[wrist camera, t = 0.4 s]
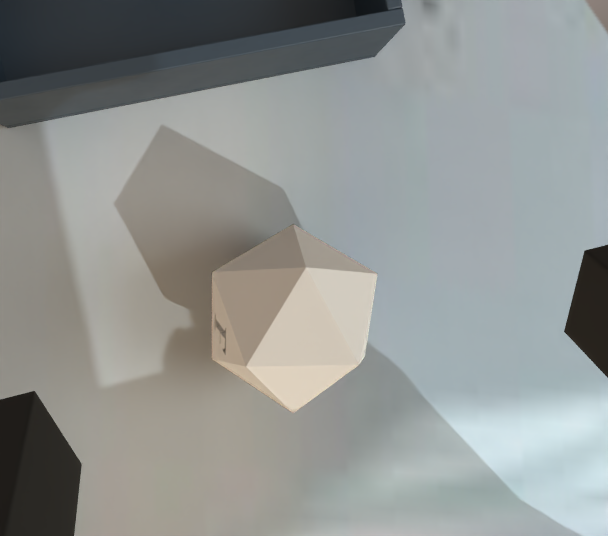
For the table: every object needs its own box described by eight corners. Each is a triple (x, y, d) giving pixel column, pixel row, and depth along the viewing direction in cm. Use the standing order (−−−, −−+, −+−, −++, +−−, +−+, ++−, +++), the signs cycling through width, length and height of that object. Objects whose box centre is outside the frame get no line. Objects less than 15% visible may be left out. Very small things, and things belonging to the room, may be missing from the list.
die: (266, 199, 32) (161, 258, 24) (411, 231, 29) (349, 313, 21) (260, 319, 36) (168, 407, 27) (388, 359, 33) (328, 472, 24)
